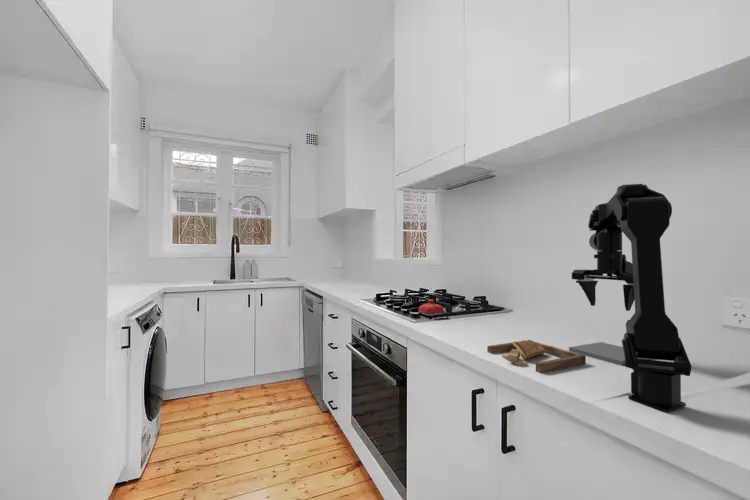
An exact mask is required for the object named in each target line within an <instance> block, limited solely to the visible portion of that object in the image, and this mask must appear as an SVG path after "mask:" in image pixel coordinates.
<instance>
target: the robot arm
mask: <svg viewBox="0 0 750 500" xmlns="http://www.w3.org/2000/svg"><path fill="white" fill-rule="evenodd" d="M672 213H673V207H672V204H671V202H670V201H669V199H668V198H667V197H666V196H665V194H664V193H660V192H658V191H656V190H653V189H650V188H649V187H648V185H646V184H642V183H633V184H632V183H628V184H622V185H619V186H618V187H617V190H616V192H615V194H613V196H612V197H611V198H610V199H609V200H608V201H607V202H605V203H600V204H598V205H596V206H595V207H594V209H593V210H591V213H590V215H589V220H588V225H587V226H588V229H589V232H591V231H593V232H594V231H595V233H593V234H592V235H591V236H590V237H589V240H588V244H589V247H591V249H593V250H595V251H596V254H593V259H596V266H597V267H596V269H595V268H594V269H583V268H582V269H573V270H572V273H571V280H575V283H578V285H579V286H580V289H582V291H583V292H584V294H585V296H586V298H587V300H588V302H589V303H590V305H591V306H592V307H594V306H596V302H597V301H596V286H597V284H598V282H599V281H598V280H609V281H611V280H612V281H622V282H625V283H626V284H623V285H622V290H623V299H624V300H623V301H624V308H625V311H627V312H629V311H631V309H632V307H633V305H634V313H633V314H632V316H631V318H630V319H627V321H626V322H625V333H624V334H623V338H622V339H621V344H622V346H621V347H623V351H624V356H625V365H624V367H626V368H628V369H632V370H633V371H632V372H631V373H630V393H631V395H628V399H629V400H631V401H634V402H637V403H639V404H642V405H646V406H648V407H651V408H654V409H657V410H660V411H662V412H667V413H669V412H672V411H675V410H678V409H681V408H684V407H687V403H686V402H684V401H682V385H681V384H682V383H681V381H682V379H681V378H682V377H681V376H687V377H691V372H692V364H691V362H690V359H689V357H688V354H687V351H686V349H685V347H684V344H683V342H682V340H681V338H680V337H679V330H678V327H677V326H676V325H675V324H674V322H673V321H672V319H671V318H670V317H669V316H668V315H667V314H666V304H665V292H664V290H665V289H664V277H663V276H664V275H663V264H662V263H663V262H662V249H661V238H662V236H663V235H664V234H665V232H666V230H668V228H669V227H670V224H671V223H670V219H671V216H672ZM623 234H624V235H625V237H626V238H627V239H628V240H629V242H630V244H631V245H630V246H631V247H630V249H631V261H632V262H631V261H628V260H627V256H626V254H623ZM596 279H597V280H596ZM637 358H645V359H649V360H644V359H637Z"/></svg>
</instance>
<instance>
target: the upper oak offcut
mask: <svg viewBox="0 0 750 500" xmlns="http://www.w3.org/2000/svg"><path fill="white" fill-rule="evenodd" d="M520 357H521V355H520V350H516V349H512V350H511V351H509V353H508V360H507V362H510V361H512V362H517V361H518V359H520ZM512 362H511V363H512Z"/></svg>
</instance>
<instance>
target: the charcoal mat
mask: <svg viewBox="0 0 750 500" xmlns="http://www.w3.org/2000/svg"><path fill="white" fill-rule="evenodd" d="M568 351H570V352H573V353H577V354H581V355H584V356H587V357H590V358H593V359H598V360H602V361H604V362H607V363H610V364H611V363H612V364H615V365H618V366H625V356H624V351H623V346H620V345H616V344H611V343H607V342H602V341H599V342H593V343H588V344H581V345H576V346H569V348H568ZM637 359H644V360H650V359H645V358H637Z"/></svg>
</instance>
